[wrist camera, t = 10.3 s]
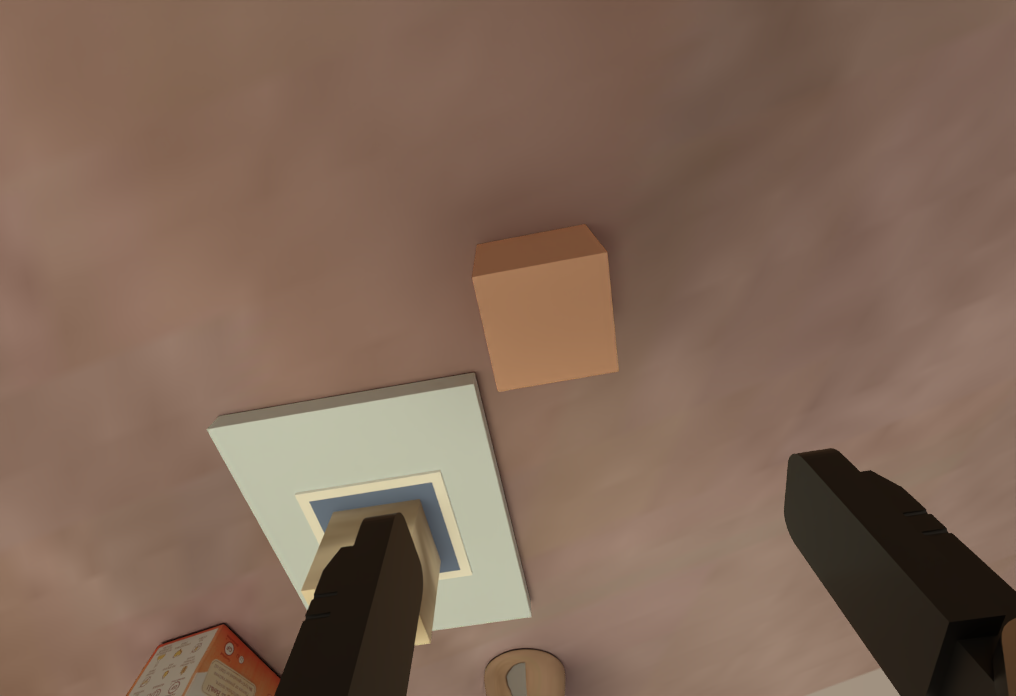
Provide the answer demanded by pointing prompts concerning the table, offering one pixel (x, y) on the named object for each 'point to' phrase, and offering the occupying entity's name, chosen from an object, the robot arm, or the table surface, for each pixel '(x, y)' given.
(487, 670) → the beer glass
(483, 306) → the terracotta block
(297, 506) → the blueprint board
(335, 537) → the birch block
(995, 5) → the table surface
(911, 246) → the table surface
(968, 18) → the table surface
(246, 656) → the cracker box
